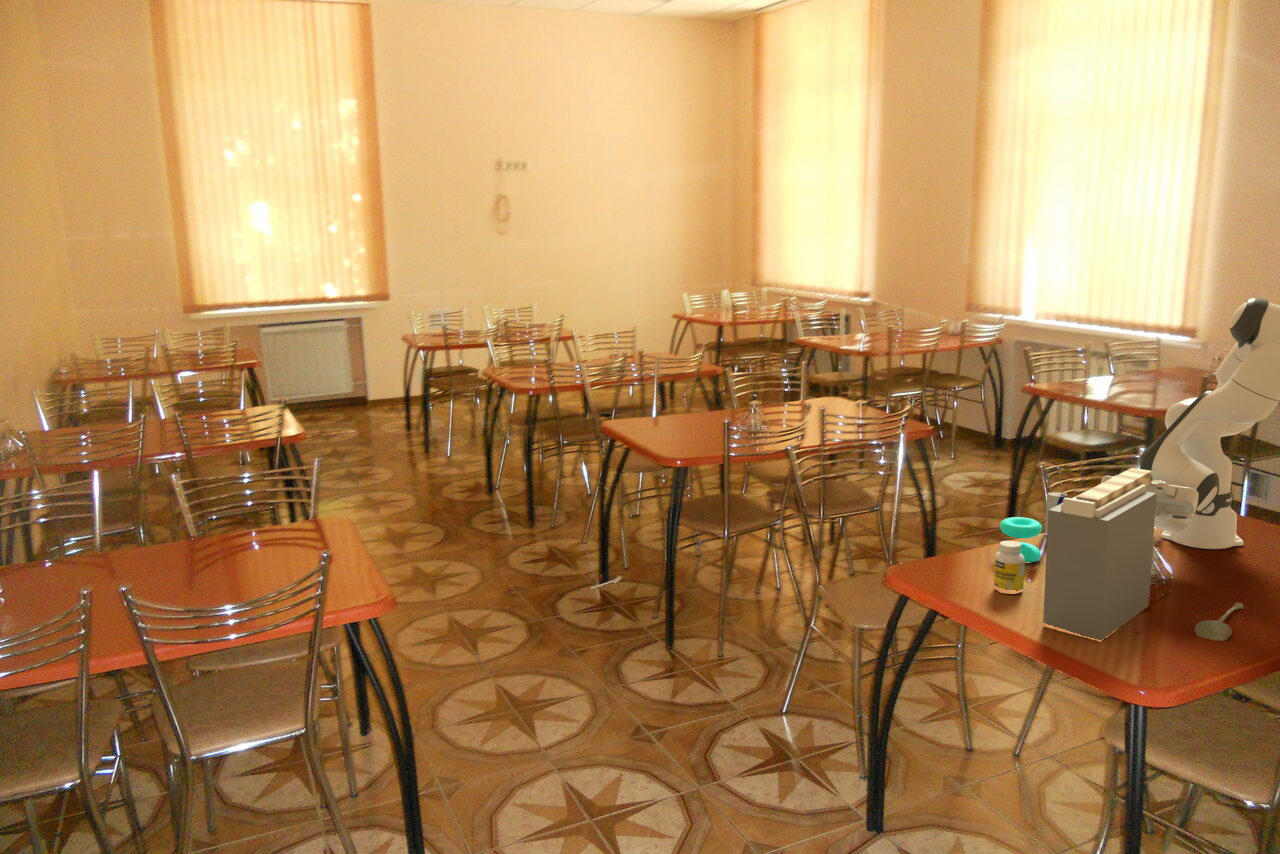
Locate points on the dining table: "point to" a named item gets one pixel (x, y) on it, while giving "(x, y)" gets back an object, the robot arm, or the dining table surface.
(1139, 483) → the wooden bar
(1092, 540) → the gray open box
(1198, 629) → the soupspoon
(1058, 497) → the energy drink
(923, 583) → the dining table surface
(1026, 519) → the donuts
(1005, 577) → the pill bottle
